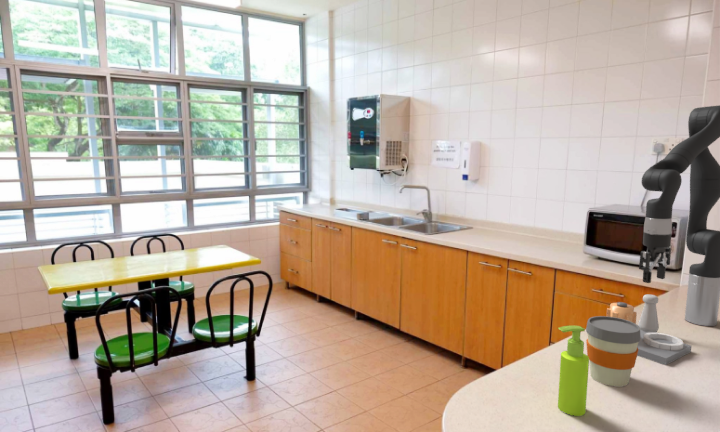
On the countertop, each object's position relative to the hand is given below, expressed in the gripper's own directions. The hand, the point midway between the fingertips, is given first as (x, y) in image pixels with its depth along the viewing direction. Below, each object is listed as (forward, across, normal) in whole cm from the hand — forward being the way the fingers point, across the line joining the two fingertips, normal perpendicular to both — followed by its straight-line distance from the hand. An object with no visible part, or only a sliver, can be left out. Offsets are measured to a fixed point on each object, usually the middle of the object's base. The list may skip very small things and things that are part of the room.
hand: (653, 280), depth 148 cm
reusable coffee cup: (+18, +41, +11) cm, 46 cm away
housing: (+18, +12, +4) cm, 22 cm away
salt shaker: (+19, 0, -1) cm, 19 cm away
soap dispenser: (+18, +64, +15) cm, 68 cm away
